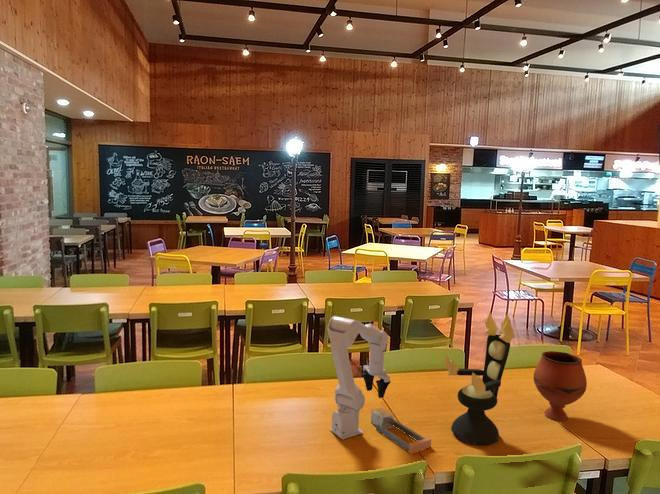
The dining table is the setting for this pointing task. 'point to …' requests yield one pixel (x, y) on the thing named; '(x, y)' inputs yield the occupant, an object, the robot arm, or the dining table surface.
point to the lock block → (382, 418)
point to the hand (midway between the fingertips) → (375, 393)
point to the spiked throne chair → (482, 386)
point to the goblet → (559, 381)
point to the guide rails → (411, 447)
